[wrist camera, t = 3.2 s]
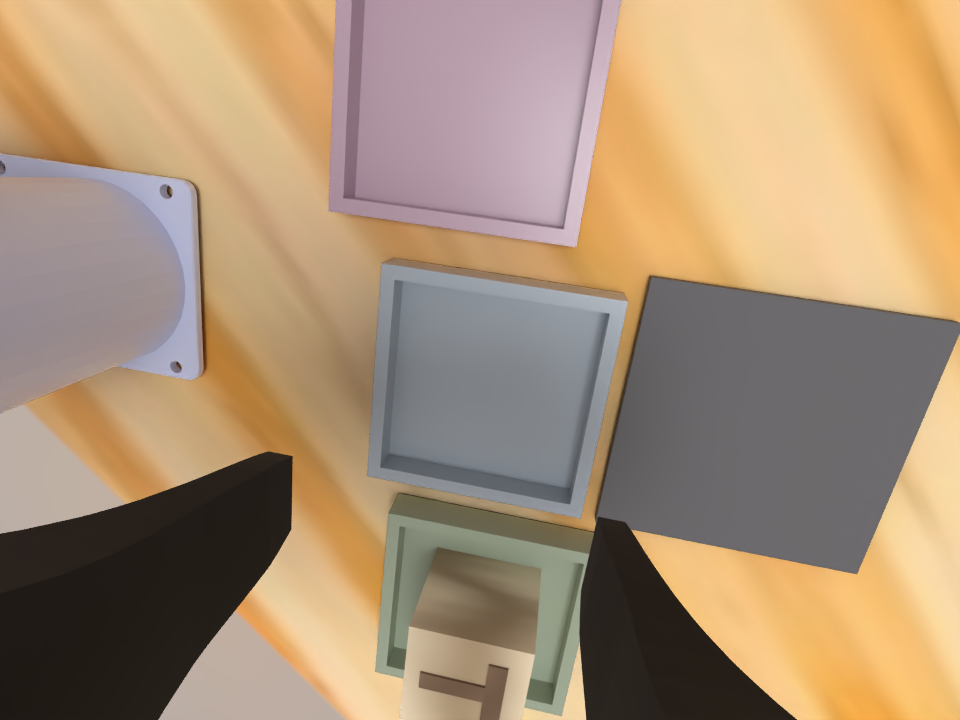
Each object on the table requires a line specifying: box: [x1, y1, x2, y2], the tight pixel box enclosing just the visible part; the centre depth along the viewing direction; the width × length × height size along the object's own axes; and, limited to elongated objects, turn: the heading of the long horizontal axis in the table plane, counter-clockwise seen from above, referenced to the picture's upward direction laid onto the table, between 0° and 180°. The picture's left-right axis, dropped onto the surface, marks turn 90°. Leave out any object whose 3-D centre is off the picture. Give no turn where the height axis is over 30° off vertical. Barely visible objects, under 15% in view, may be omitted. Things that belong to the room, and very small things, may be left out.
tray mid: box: [367, 258, 628, 518], centre depth 21 cm, size 8×8×2 cm
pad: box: [595, 276, 960, 574], centre depth 20 cm, size 10×10×1 cm
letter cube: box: [399, 547, 541, 720], centre depth 22 cm, size 4×4×5 cm
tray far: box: [375, 493, 594, 716], centre depth 24 cm, size 8×8×2 cm
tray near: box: [329, 0, 621, 247], centre depth 18 cm, size 8×8×2 cm
